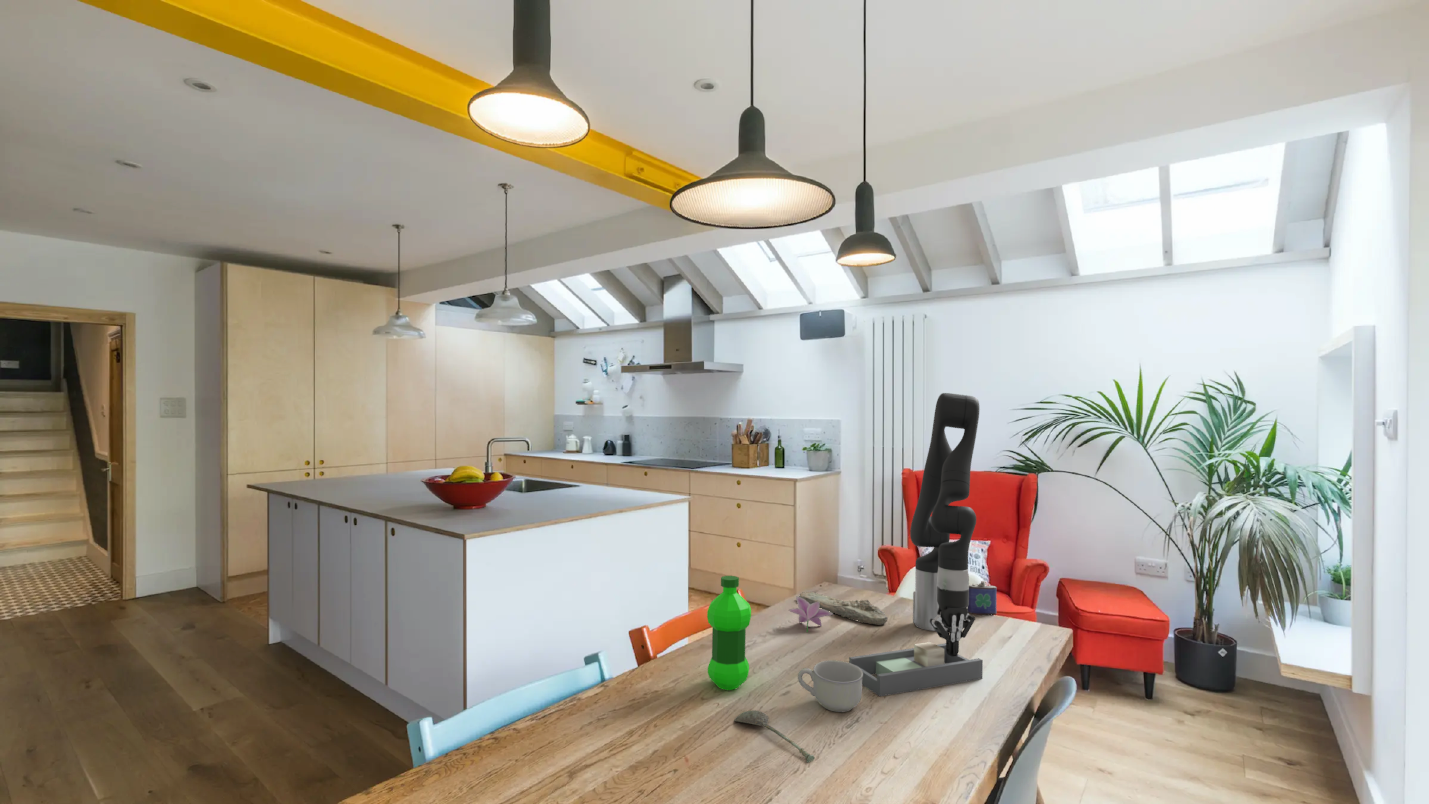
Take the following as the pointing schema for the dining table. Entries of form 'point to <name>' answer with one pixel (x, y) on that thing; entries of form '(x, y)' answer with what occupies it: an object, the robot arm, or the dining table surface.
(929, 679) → the trap lane
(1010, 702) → the dining table surface
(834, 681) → the teacup
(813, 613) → the lily
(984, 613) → the blue clover-printed container
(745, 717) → the soupspoon
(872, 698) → the dining table surface
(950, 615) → the robot arm
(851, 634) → the dining table surface
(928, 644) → the block
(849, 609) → the long grey stone
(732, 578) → the plastic bottle
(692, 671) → the dining table surface
